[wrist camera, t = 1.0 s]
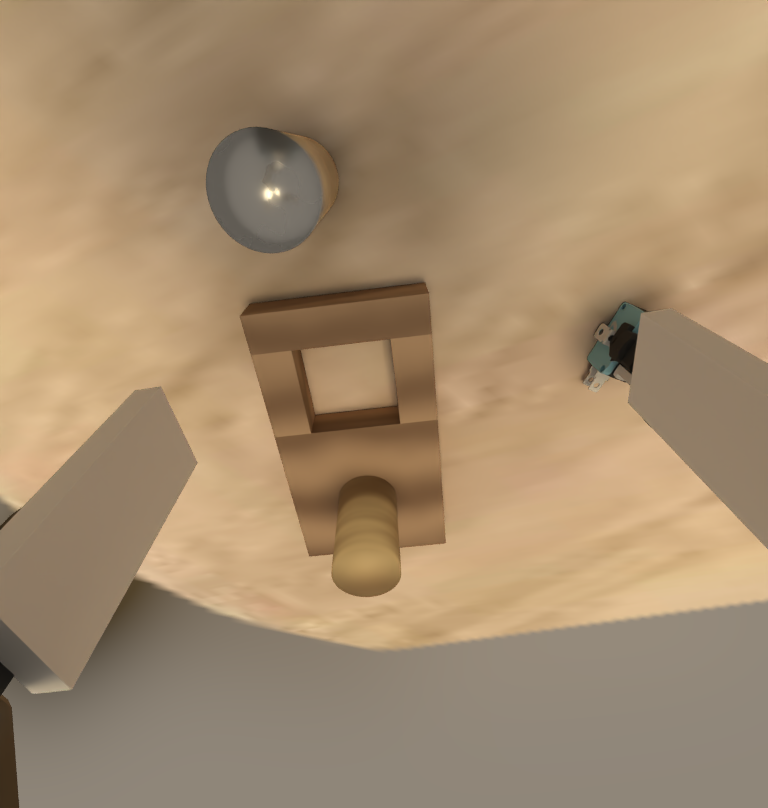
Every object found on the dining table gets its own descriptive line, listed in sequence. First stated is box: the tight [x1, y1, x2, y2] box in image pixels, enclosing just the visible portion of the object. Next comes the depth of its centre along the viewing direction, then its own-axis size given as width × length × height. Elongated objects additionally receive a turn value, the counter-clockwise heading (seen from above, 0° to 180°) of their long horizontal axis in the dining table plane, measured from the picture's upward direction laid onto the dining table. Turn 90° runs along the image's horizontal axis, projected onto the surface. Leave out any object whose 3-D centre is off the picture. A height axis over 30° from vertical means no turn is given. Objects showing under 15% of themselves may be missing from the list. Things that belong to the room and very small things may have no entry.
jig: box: [240, 283, 446, 597], centre depth 31 cm, size 22×12×10 cm, turn 7°
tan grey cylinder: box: [206, 127, 339, 253], centre depth 22 cm, size 5×5×10 cm
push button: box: [583, 302, 652, 428], centre depth 28 cm, size 7×5×10 cm
